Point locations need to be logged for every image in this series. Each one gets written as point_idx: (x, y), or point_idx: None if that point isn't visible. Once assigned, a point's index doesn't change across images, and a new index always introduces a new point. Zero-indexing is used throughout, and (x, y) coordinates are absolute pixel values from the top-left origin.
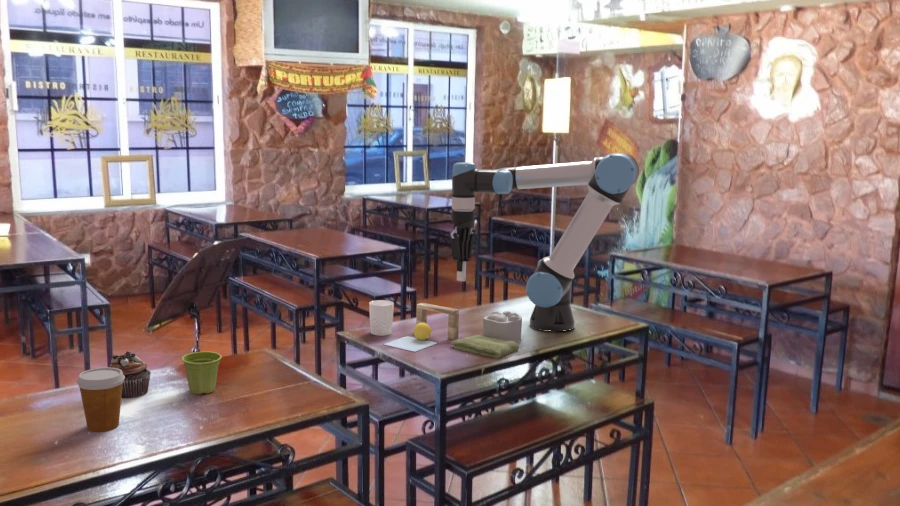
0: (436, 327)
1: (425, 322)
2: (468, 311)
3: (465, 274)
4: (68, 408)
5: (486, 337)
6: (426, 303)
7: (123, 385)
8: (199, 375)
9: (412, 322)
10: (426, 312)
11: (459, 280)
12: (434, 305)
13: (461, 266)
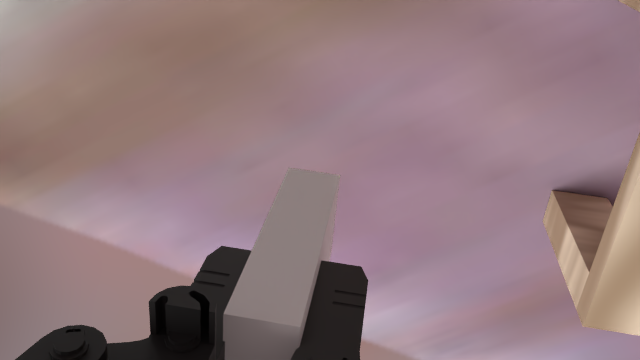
0: (445, 176)
1: (577, 218)
2: (25, 173)
3: (285, 206)
4: None
5: None
6: (596, 294)
7: None
8: None
9: (416, 315)
10: (584, 252)
11: (333, 225)
12: (637, 223)
13: (330, 307)
